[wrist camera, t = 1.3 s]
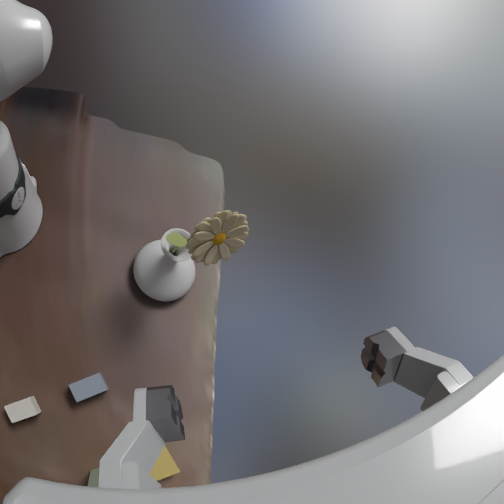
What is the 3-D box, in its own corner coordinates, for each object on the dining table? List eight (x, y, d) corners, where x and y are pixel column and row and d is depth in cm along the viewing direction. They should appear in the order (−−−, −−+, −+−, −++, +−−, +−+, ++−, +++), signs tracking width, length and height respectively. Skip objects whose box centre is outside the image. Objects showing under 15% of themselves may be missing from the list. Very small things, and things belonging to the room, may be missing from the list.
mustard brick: (146, 476, 37) (149, 483, 34) (130, 449, 38) (131, 455, 35) (176, 465, 40) (180, 471, 37) (160, 438, 41) (163, 443, 38)
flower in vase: (128, 297, 47) (138, 244, 26) (138, 238, 52) (158, 153, 31) (199, 308, 52) (261, 267, 31) (203, 250, 57) (261, 181, 36)
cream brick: (17, 420, 30) (11, 423, 27) (9, 404, 30) (3, 406, 28) (41, 411, 33) (37, 414, 31) (34, 395, 33) (29, 397, 31)
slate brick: (79, 399, 37) (76, 402, 35) (71, 383, 38) (68, 385, 35) (108, 387, 40) (107, 389, 38) (100, 371, 41) (99, 372, 38)
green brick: (102, 488, 32) (101, 509, 24) (90, 470, 32) (86, 490, 25) (121, 481, 34) (123, 503, 26) (109, 464, 35) (108, 483, 27)
